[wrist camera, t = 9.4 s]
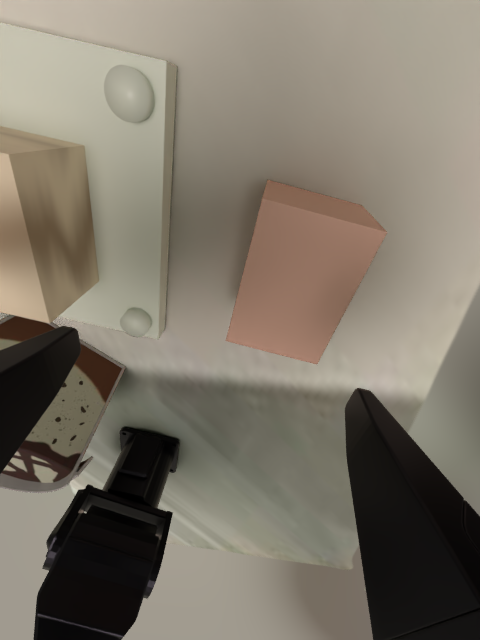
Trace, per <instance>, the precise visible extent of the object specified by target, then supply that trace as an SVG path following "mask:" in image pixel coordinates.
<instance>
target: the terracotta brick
mask: <svg viewBox="0 0 480 640" xmlns="http://www.w3.org/2000/svg"><path fill="white" fill-rule="evenodd" d="M386 234H387V231H386V230H385V229H384V228H383V227H382V226H381V225H380V224H379V223H378V222H377V221H376V220H375V219H374V218H373V217H372V216H371V214H370V213H369V212H368V211H367V210H366V209H365V208H364V207H363V206H362V205H358V204H355V203H351V202H348V201H344V200H340V199H337V198H333V197H329V196H326V195H322V194H318V193H315V192H311V191H307V190H304V189H300V188H296V187H293V186H289V185H285V184H282V183H278V182H274V181H271V180H267V183H266V187H265V190H264V194H263V197H262V201H261V205H260V209H259V213H258V217H257V221H256V224H255V228H254V232H253V236H252V240H251V244H250V248H249V252H248V256H247V260H246V263H245V267H244V271H243V275H242V279H241V283H240V287H239V291H238V295H237V299H236V303H235V306H234V310H233V314H232V318H231V322H230V326H229V330H228V334H227V338H226V341H228V342H232V343H236V344H240V345H244V346H248V347H252V348H255V349H259V350H263V351H267V352H271V353H275V354H279V355H282V356H286V357H290V358H294V359H298V360H302V361H306V362H310V363H313V364H318V362H319V360H320V358H321V356H322V354H323V352H324V350H325V348H326V347H327V345H328V343H329V341H330V339H331V337H332V335H333V333H334V332H335V330H336V328H337V326H338V324H339V322H340V320H341V318H342V317H343V315H344V313H345V311H346V309H347V307H348V305H349V303H350V301H351V300H352V298H353V296H354V294H355V292H356V290H357V288H358V286H359V285H360V283H361V281H362V279H363V277H364V275H365V273H366V271H367V269H368V268H369V266H370V264H371V262H372V260H373V258H374V256H375V254H376V253H377V251H378V249H379V247H380V245H381V243H382V241H383V239H384V238H385V236H386Z"/></svg>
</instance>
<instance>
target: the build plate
mask: <svg viewBox="0 0 480 640" xmlns="http://www.w3.org/2000/svg"><path fill="white" fill-rule="evenodd" d="M176 78H177V66H175V65H173V64H171V63H169V62H168V61H164V60H160V59H156V58H152V57H147V56H143V55H139V54H134V53H130V52H126V51H121V50H117V49H113V48H108V47H104V46H100V45H95V44H91V43H87V42H83V41H78V40H74V39H70V38H65V37H61V36H57V35H52V34H48V33H44V32H39V31H35V30H31V29H27V28H22V27H18V26H14V25H9V24H5V23H1V22H0V126H2V127H7V128H11V129H15V130H20V131H24V132H28V133H33V134H37V135H41V136H46V137H50V138H54V139H59V140H63V141H67V142H72V143H76V144H80V145H84V146H85V156H86V165H87V174H88V183H89V192H90V202H91V211H92V220H93V229H94V239H95V248H96V257H97V266H98V275H99V282H98V283H97V284H95V285H94V286H93V287H92V288H91V289H90V290H88V291H87V292H86V293H85V294H84V295H83V296H81V297H80V298H79V299H78V300H77V301H76V302H74V303H73V304H72V305H71V306H70V307H69V308H67V309H66V310H65V311H64V312H63V313H62V314H60V315H59V316H58V317H61V318H66V319H70V320H74V321H79V322H83V323H88V324H92V325H96V326H101V327H105V328H109V329H114V330H118V331H122V332H126V333H127V334H129V335H131V336H134V337H142V336H144V337H149V338H153V339H157V340H158V339H159V338H160V336H161V334H162V332H163V331H164V329H165V318H166V297H167V275H168V253H169V231H170V209H171V188H172V166H173V144H174V122H175V100H176Z"/></svg>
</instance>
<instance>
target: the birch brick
mask: <svg viewBox="0 0 480 640" xmlns="http://www.w3.org/2000/svg"><path fill="white" fill-rule="evenodd" d="M98 282H99V275H98V266H97V257H96V248H95V239H94V229H93V220H92V211H91V202H90V192H89V183H88V174H87V165H86V156H85V146H84V145H80V144H76V143H72V142H67V141H63V140H59V139H54V138H50V137H46V136H41V135H37V134H33V133H28V132H24V131H20V130H15V129H11V128H7V127H2V126H0V312H1V313H6V314H10V315H15V316H19V317H23V318H28V319H32V320H36V321H41V322H45V323H49V324H50V323H51V322H52V321H53V320H55V319H56V318H57V317H58V316H59V315H60V314H62V313H63V312H64V311H65V310H66V309H67V308H69V307H70V306H71V305H72V304H73V303H74V302H76V301H77V300H78V299H79V298H80V297H81V296H83V295H84V294H85V293H86V292H87V291H88V290H90V289H91V288H92V287H93V286H94V285H95V284H97V283H98Z"/></svg>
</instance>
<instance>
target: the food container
mask: <svg viewBox="0 0 480 640" xmlns="http://www.w3.org/2000/svg"><path fill="white" fill-rule="evenodd" d="M58 327H59V326H57V325H56V324H54V323H52V322H51V323H50V324H49V323H45V322H41V321H36V320H32V319H28V318H23V317H19V316H15V315H9V316H7V317H5V318H3V319H2V320H0V350H2V349H5V348H7V347H10V346H12V345H15V344H18V343H20V342H23V341H25V340H28V339H30V338H33V337H35V336H38V335H40V334H43V333H46V332H48V331H51V330H53V329H56V328H58ZM79 340H80V344H81V353H80V355H79V357H78V359H77V361H76V362H75V364H74V366H73V368H72V369H71V371H70V373H69V375H68V377H67V378H66V380H65V382H64V384H63V385H62V387H61V389H60V391H59V392H58V394H57V396H56V397H55V398H54V400H53V401H52V403H51V404H50V406H49V407H48V408H47V410H46V411H45V413H44V414H43V415H42V417H41V418H40V420H39V421H38V422H37V424H36V425H35V427H34V428H33V429H32V431H31V432H30V434H29V435H28V436H27V438H26V439H25V441H24V442H23V443H22V445H21V446H20V448H19V449H18V450H17V452H16V453H15V455H14V456H13V457H12V459H11V460H10V462H9V463H8V464H7V466H6V467H5V469H4V470H3V471H2V473H1V474H0V487H1V488H5V489H10V490H15V491H22V492H33V493H43V492H52V491H57V490H59V489H62V488H64V487H65V486H67V485H68V484H69V483H70V481H71V480H73V479H74V478H76V477H77V476H79V474H80V473H81V472H82V471H83V470H84V468H85V467H86V466H87V465H88V464H89V462H90V461H91V460H92V459H93V457H92V456H91V457H90V458H89V459H87V460H85V461H83V462H81V460H82V458H83V456H84V454H85V452H86V450H87V448H88V446H89V443H90V441H91V439H92V437H93V435H94V433H95V431H96V429H97V427H98V425H99V422H100V420H101V418H102V416H103V414H104V412H105V410H106V408H107V406H108V404H109V402H110V399H111V397H112V395H113V393H114V391H115V389H116V387H117V385H118V383H119V381H120V378H121V376H122V374H123V372H124V370H125V368H126V366H124V365H122V364H121V363H119V362H117V361H116V360H114V359H112V358H111V357H109V356H107V355H106V354H104V353H102V352H101V351H99V350H97V349H96V348H94V347H92V346H91V345H89V344H87V343H86V342H84V341H82V340H81V339H79ZM80 462H81V463H80Z"/></svg>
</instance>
